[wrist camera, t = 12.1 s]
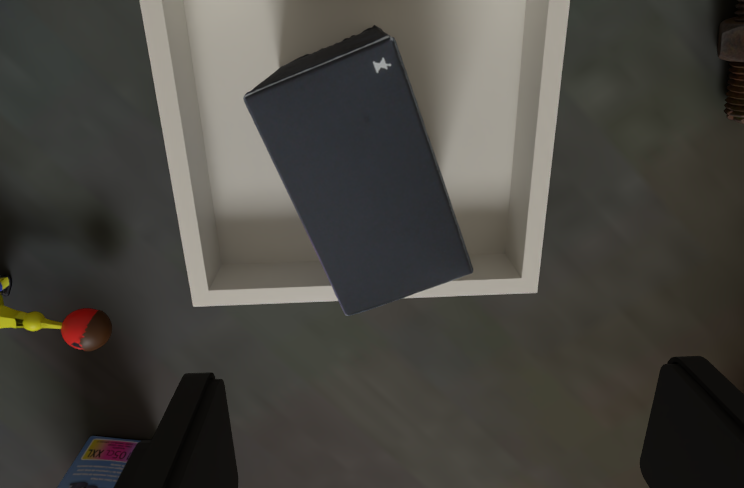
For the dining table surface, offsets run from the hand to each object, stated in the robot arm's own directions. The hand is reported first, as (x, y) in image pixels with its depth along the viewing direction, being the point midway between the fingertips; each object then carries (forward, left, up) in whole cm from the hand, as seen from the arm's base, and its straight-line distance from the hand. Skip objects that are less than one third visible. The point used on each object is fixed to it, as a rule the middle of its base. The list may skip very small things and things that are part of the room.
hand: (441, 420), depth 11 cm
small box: (+1, -2, -22) cm, 22 cm away
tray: (+1, -2, -23) cm, 23 cm away
